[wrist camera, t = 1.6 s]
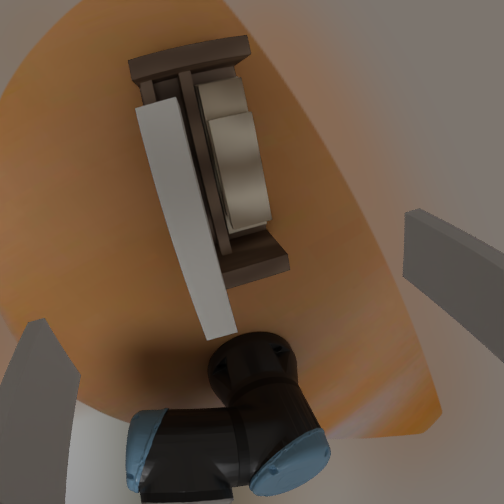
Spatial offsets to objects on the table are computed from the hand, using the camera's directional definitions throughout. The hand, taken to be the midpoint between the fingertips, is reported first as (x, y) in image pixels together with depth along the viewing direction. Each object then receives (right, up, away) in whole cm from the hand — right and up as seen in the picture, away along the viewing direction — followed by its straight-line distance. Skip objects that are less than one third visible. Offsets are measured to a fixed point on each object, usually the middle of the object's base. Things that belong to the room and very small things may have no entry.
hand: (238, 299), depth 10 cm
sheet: (-7, +11, +26) cm, 29 cm away
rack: (-5, +13, +27) cm, 31 cm away
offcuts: (-2, +13, +27) cm, 30 cm away
